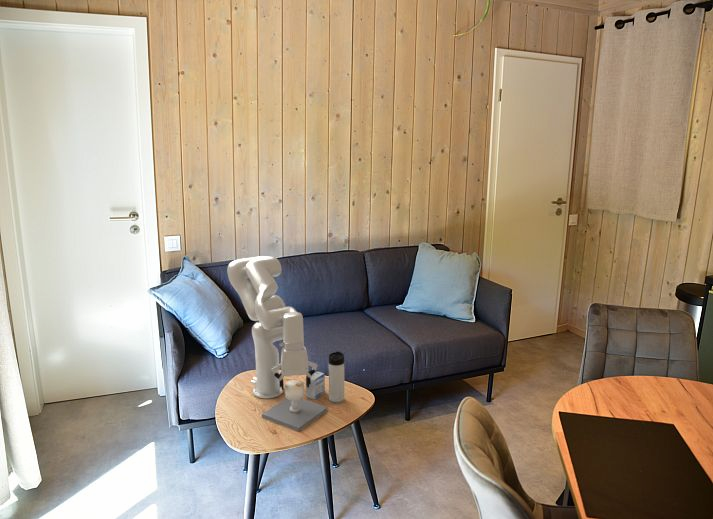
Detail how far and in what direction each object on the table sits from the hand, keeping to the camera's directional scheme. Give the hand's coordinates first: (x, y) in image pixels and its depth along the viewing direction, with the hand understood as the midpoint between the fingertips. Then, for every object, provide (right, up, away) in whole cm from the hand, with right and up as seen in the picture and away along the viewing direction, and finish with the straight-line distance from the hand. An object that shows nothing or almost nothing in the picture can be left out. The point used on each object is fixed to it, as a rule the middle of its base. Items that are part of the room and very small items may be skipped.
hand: (295, 387), depth 207 cm
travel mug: (+15, -9, +14) cm, 23 cm away
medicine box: (+6, -8, +19) cm, 21 cm away
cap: (0, -4, +1) cm, 4 cm away
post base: (0, -11, +3) cm, 12 cm away
